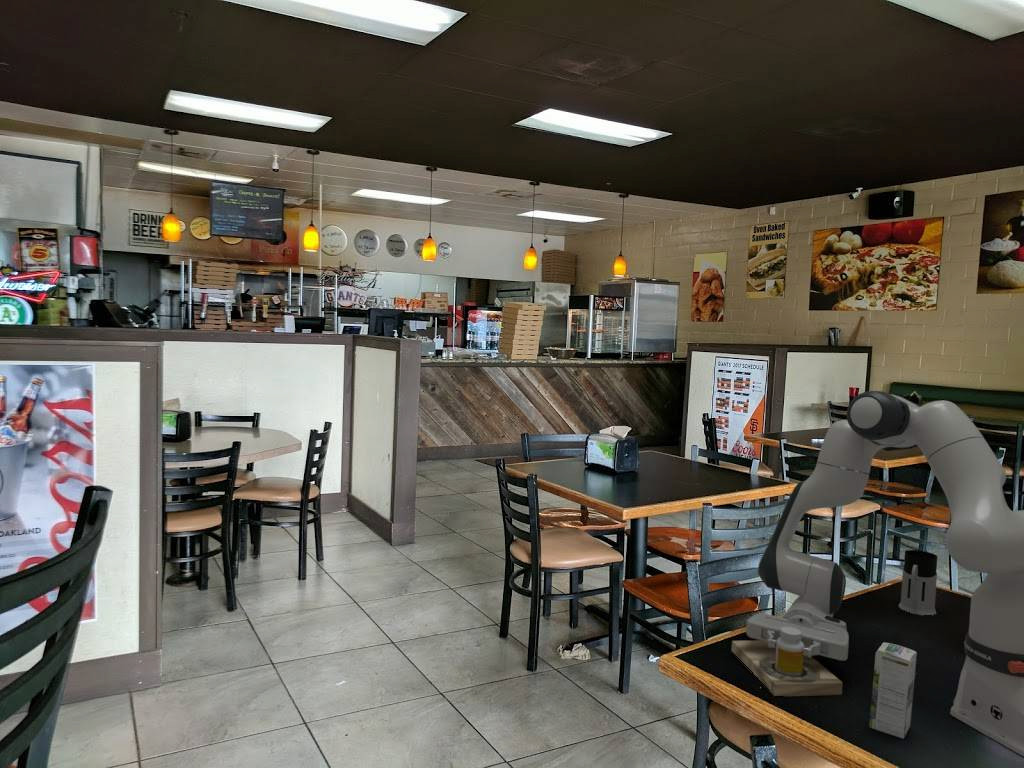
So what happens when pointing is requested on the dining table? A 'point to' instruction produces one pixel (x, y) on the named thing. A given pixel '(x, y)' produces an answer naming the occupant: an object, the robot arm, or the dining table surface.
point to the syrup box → (893, 689)
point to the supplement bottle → (789, 653)
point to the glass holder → (919, 582)
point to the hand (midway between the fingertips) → (789, 648)
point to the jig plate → (763, 667)
